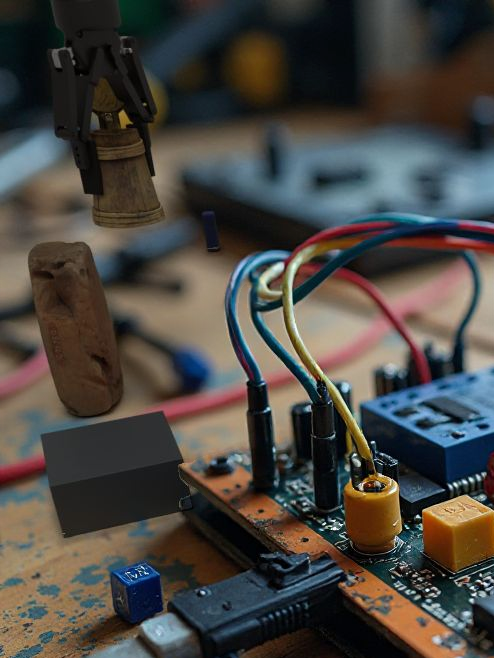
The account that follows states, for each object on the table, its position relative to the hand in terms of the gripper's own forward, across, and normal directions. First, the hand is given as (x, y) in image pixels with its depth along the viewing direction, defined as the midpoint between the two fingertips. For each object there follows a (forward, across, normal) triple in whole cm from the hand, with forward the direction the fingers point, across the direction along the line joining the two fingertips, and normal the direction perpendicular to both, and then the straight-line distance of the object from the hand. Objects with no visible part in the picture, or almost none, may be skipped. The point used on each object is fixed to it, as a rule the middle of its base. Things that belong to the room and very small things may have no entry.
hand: (120, 184), depth 138 cm
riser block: (+24, -35, -21) cm, 47 cm away
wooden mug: (+4, 0, 0) cm, 4 cm away
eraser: (+24, +45, +21) cm, 55 cm away
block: (+24, -16, -2) cm, 29 cm away
